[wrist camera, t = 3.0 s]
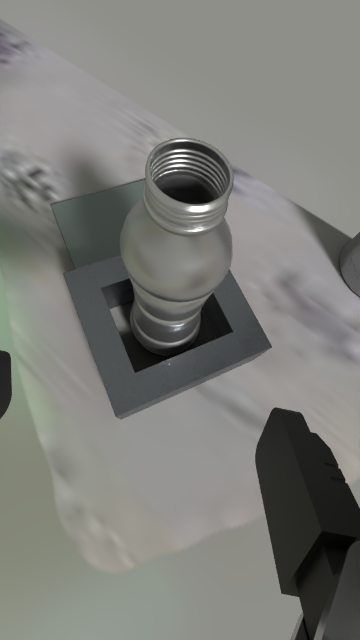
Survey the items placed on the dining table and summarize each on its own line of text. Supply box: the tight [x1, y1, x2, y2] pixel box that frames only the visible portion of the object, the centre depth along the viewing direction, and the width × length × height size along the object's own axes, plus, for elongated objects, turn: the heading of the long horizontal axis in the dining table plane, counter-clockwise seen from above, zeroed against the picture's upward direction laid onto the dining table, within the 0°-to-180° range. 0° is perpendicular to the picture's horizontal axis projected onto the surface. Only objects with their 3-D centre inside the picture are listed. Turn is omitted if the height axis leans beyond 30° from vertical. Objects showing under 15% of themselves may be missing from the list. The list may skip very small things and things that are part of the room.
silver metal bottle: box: [120, 138, 234, 356], centre depth 22 cm, size 6×7×20 cm
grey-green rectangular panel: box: [51, 180, 145, 269], centre depth 34 cm, size 14×9×1 cm, turn 114°
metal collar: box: [63, 255, 272, 419], centre depth 29 cm, size 14×13×5 cm
